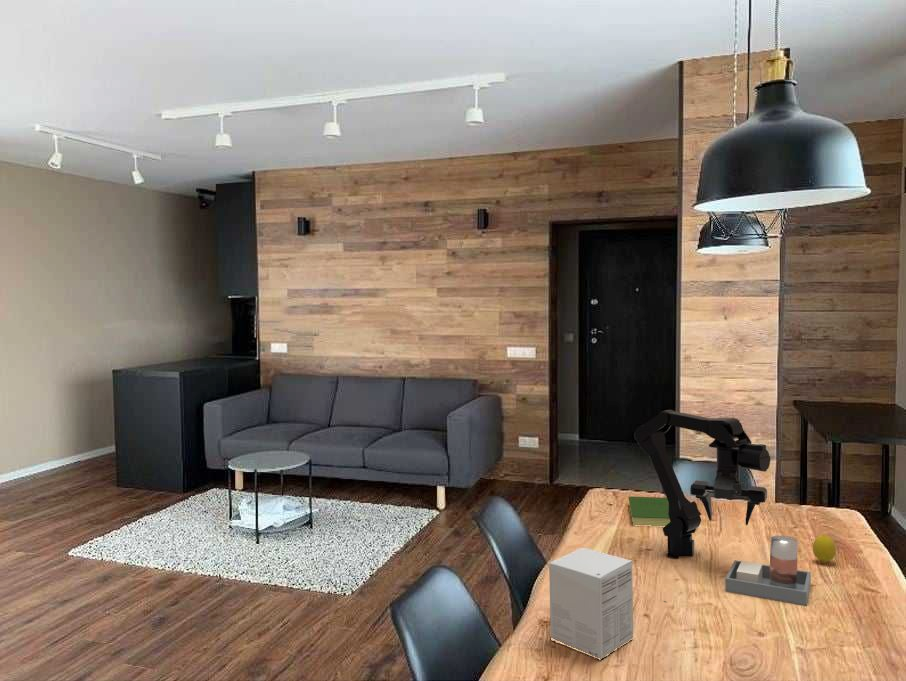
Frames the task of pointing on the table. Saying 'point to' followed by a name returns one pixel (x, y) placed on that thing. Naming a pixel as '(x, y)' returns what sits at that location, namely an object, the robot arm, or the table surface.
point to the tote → (769, 586)
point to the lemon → (824, 548)
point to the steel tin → (783, 562)
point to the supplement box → (591, 601)
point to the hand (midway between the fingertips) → (728, 522)
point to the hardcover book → (649, 511)
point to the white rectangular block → (749, 572)
